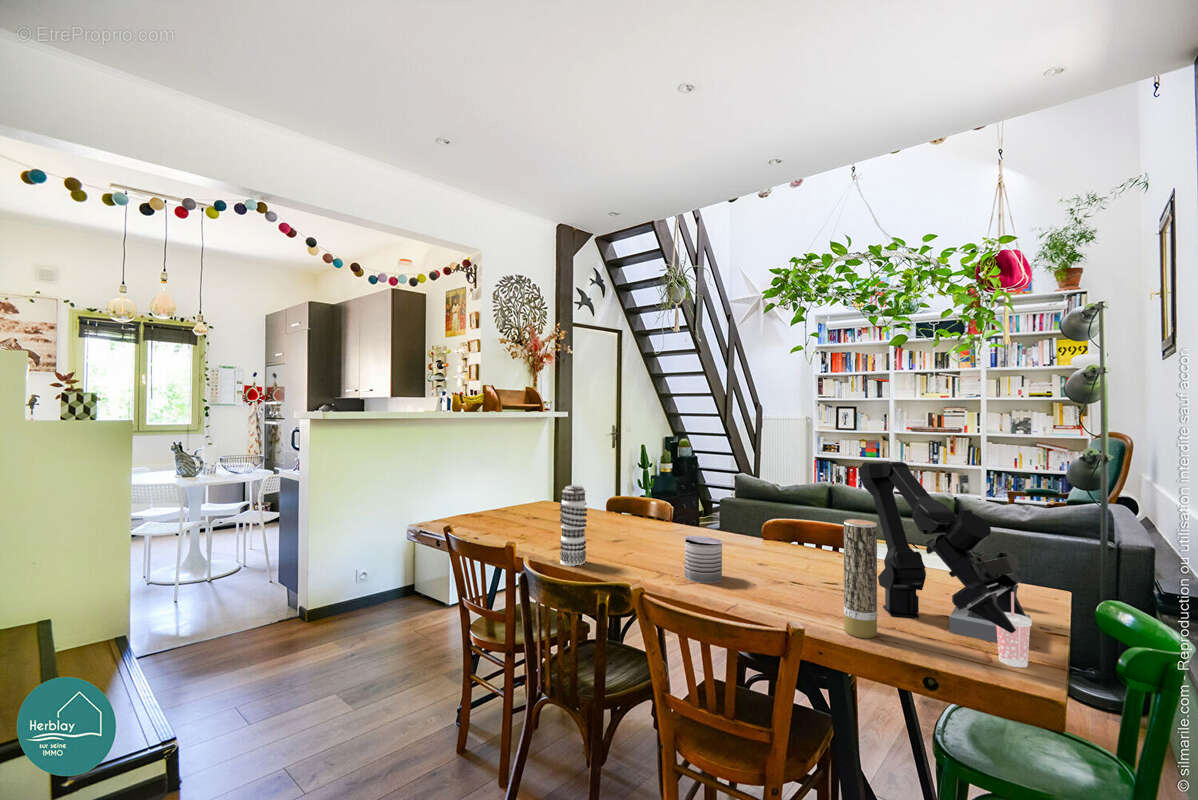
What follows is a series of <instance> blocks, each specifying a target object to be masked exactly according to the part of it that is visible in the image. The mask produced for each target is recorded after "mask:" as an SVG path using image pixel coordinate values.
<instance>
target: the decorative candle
mask: <svg viewBox="0 0 1198 800" xmlns="http://www.w3.org/2000/svg"><path fill="white" fill-rule="evenodd" d="M561 492H562V494H561V495H562V497H561V498H562V499H561V502H560V503H559V506H560V507H559V511H560V515H559V517H560V518H559V519H560V520H559V522H561V524H560V528H561V538H560V539H561V540H560V547H559V548H560V549H561V550H560V552H559V555H560V556H559V560H560V561H559V562H560V563H559V564H561V565H563V566H565V567H566V566H568V567H576V566H575V565H580V564H582V563H584V562H585V561H586V559H587V556H586V554H587V551H586V549H587V546H586V544H587V541H586V535H585V531H586V528H587V524H586V523H587V521H588V520H587V519H585V517H586V516H588V514H587V513H586V512H588V508H586V507H585V506H586V505H587V502H586V492H587V490H585V489H584V487H583V486H582V485H576V484H575V485H567V486H565V487H564V489H563V490H561ZM580 566H581V565H580Z"/></svg>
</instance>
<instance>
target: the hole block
mask: <svg viewBox="0 0 1198 800" xmlns="http://www.w3.org/2000/svg"><path fill="white" fill-rule="evenodd" d="M971 606H972V605H971V604H968V605H967V607H966V608H964V609H961V610H958V608H957V607H956V606H955V607H954V608H953V610H952V611H951V613H950V615H949V617H948V619H949V621H948V626H949V627H948V629H949V631H948V633H949V634H950V633H952V634H956V635H960V636H964V637H968V638H973V639H978V640H982V641H987V642H992V643H996V644H998V640H997V628H996V624H994V623H992V622H990V621H989V620H987V619H985V618H983V617H981V616H979V615H977V614H975V613H974V612H972V611H968V610H967V609H968V608H970V607H971ZM1003 612H1004V611H1003ZM1025 615H1026V617H1028V618H1030V619H1031V614H1026V613H1025Z"/></svg>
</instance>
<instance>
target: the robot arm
mask: <svg viewBox="0 0 1198 800" xmlns="http://www.w3.org/2000/svg"><path fill="white" fill-rule="evenodd" d="M858 477H859V478H860V481H861V483H862V486H863V488H864V489H865V490H866V491H867V492H868V493H869V494H870V495H871V496H872V498H873V500H874V505H875V509H876V513H877V517H878V519H879V523H880V527H881V529H882V533H883V537H884V541H885V544H886V548H887V551H886V555H885V557H884V560H883V563H884V569H883V570H882V571H881V572H880V574H878V575H877V581H878V584H879V586H880V587H882V588H884V589H885V591H884V592H885V593H884V596H885V597H884V599H885V600H884V601H885V603H884V604H885V605H882V608H883V609H884V611H886V612H887V613H888V614H889V615H890V616H892V617H900V618H901V617H902V618H904V617H905V618H920V615H919V614H918V613H919V610H920V609H919V607H920V605H919V604H920V603H919V599H920V598H919V596H918V595H917V591H923V589H924V585H925V582H926V578H927V572H926V566H925V564H924V561H923V557H922V554H921V552H920V551H914V550H913V548H911V546H910V545H909V541H908V538H907V535H906V531H905V528H904V525H903V522H902V519H901V514H900V510H899V508H898V504H897V501H896V498H895V495H894V489H896V490H897V491H898V492H899V494H900V495H901V496H902V497H903V498H904V500H905V501H906V502H907V504H908V505H909V506H910V508H911V510H912V517H911V518H912V520H913V521H914V524H915V525H916V527H917V529H918V530H919V531H920V533H921V534H922V535H938V536H937V537H935V538H932V539H929V540H927V541H926V542H925V543H926V549H925V550H926V554H928V555H930V554H932V553H935V554H936V555H937V556H938V557H939V558H940V559H941V561H942V562H943V563H944V564H945V565H946V566H947V567H948V569H949V570H950V571H949V572H948V574H949V576H950V578H954V577H956V578H957V579H958V580H959V582H960V583H961V584H962V585H963V586H964V587H962V588H961V589H959V591H957V592H956V593H955V592H954V593H953V594H952V595H951V602H952V604H953V605H954V606H955V607H957V608H958V610H961V609H964V608H966V607H967V605H968V604H971V605H972V606H971V607H970V608H968V609H967V610H968V611H972V612H974V613H975V614H977V615H979V616H981V617H983V618H985V619H987V620H989V621H990V622H992V623H994V624H996V625H998V626H999V627H1001V628H1003V629H1005V630H1006V631H1008V632H1010V633H1013V632H1015V631H1016V629H1015V628H1014V626H1013V625H1012V623H1011V622H1010V620H1009V619H1008V618H1007V616H1006V615H1005V613H1004V612H1009V613H1011V592H1014V613H1015V614H1019V615H1023V616H1026V615H1025V614H1026V613H1025V611H1024V609H1023V607H1022V605H1021V603H1020V601H1019V599H1018V597H1017V593H1018V589H1019V584H1020V583H1022V579H1021V578H1020V577H1019V576H1018V575H1017V573H1016V572H1020V571H1021V569H1020V567H1019V564H1018V563H1020V559H1019V558H1017V557H1016V556H1015V554H1012V553H1011V552H1009V551H1008V550H1006V551H1001V552H998V553H997V554H996V558H993V559H989V560H986V558H984V557H983V556H981V555H978V556H976V555H975V554H974V553H973V552H972V551H973V550H975V548H977V547H978V546H979V545H981V543H982V542H984V541H985V540H986V539H987V538H988V537H989V536H990V535H991V532H992V529H991V526H990V524H989V523H988V522H987V521H986V520H984V518H982V517H980V516H979V515H977V514H975V513H973V511H972V510H971V509H961V510H960V511H959V512H958V514H957V515H956V514H955V513H954V511H953V510H951V508H949V507H948V505H946V504H944V503H943V502H940V501H938V500H936V499H934V497H932V496H931V495H930V494H929V493H928V492H927V490H926V489H925V488H924V487H923V485H922V484H921V483H920V481H918V479H917V478H916V477H915V476H914V474H913V473H912V472H911V470H910V468H909V465H908V464H907V463H906V462H904V461H864V462H863V463H862V464H861V466H859V468H858ZM1003 611H1004V612H1003Z"/></svg>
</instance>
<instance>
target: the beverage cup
mask: <svg viewBox="0 0 1198 800" xmlns="http://www.w3.org/2000/svg"><path fill="white" fill-rule="evenodd" d="M1004 613H1005V615H1006V616H1007V618H1008V619H1009V620H1010V622H1011V623H1012V625H1013V626H1014V628H1015V629H1016V631H1015V632H1013V633H1010V632H1008V631H1006V630H1005V629H1003V628H1001V627H999V626H998V625H996V628H997V640H998V643H997V648H998V649H997V650H998V660H999V661H1000V662H1001V663H1002V664H1004V665H1007V666H1010V667H1014V668H1022V667H1023V668H1027V667H1028V666H1029V665H1028V664H1029V648H1030V634H1031V626H1032V625H1033V624H1032V623H1033V620H1032V619H1031V617H1030V618H1028V617H1026V616H1023V615H1019V614H1015V613H1014V592H1011V613H1009V612H1004Z"/></svg>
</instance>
